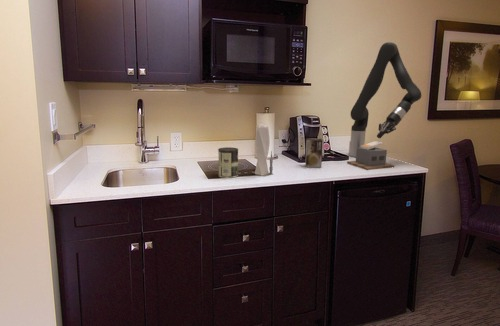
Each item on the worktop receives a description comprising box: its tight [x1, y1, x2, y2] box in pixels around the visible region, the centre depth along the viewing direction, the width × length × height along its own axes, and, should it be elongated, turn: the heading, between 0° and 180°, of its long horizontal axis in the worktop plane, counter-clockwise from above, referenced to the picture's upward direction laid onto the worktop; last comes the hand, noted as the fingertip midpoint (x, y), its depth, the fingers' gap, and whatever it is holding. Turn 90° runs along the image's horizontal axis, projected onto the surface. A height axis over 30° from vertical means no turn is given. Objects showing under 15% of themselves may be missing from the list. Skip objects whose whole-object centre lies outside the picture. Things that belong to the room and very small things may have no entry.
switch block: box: [355, 147, 388, 166], centre depth 217 cm, size 12×12×10 cm
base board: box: [346, 160, 396, 171], centre depth 218 cm, size 18×20×1 cm
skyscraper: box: [254, 121, 274, 178], centre depth 191 cm, size 8×8×28 cm
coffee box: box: [304, 137, 323, 168], centre depth 212 cm, size 9×6×16 cm
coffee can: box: [217, 146, 239, 179], centre depth 188 cm, size 10×10×14 cm
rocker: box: [361, 140, 384, 150], centre depth 216 cm, size 6×11×2 cm, turn 112°
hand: (378, 137), depth 216 cm, fingers closed
